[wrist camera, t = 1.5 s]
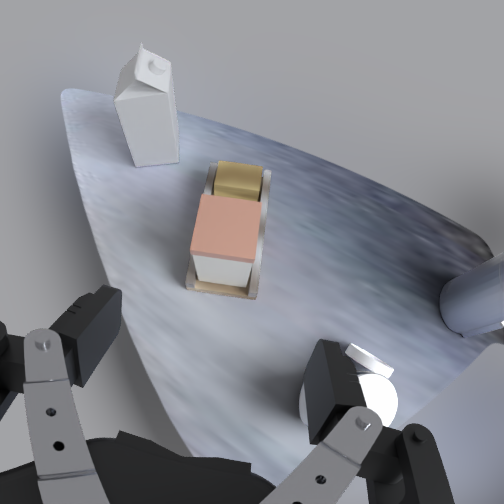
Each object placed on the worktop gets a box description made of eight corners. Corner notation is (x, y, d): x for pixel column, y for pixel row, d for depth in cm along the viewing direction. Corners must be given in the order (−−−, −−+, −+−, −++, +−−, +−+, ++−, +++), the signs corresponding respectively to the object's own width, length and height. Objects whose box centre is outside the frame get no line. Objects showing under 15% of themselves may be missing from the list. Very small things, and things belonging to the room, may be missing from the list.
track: (210, 175, 48) (209, 153, 43) (268, 183, 48) (274, 162, 43) (187, 289, 42) (182, 278, 36) (255, 299, 42) (260, 289, 37)
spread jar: (291, 425, 36) (316, 444, 26) (299, 341, 40) (327, 330, 30) (374, 424, 37) (420, 436, 26) (381, 346, 41) (427, 335, 30)
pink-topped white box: (206, 236, 42) (201, 193, 32) (252, 243, 43) (262, 202, 32) (197, 281, 40) (189, 249, 30) (246, 288, 40) (254, 259, 30)
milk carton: (135, 168, 48) (105, 77, 30) (138, 135, 50) (115, 47, 32) (179, 163, 48) (165, 68, 31) (179, 131, 51) (168, 39, 33)
